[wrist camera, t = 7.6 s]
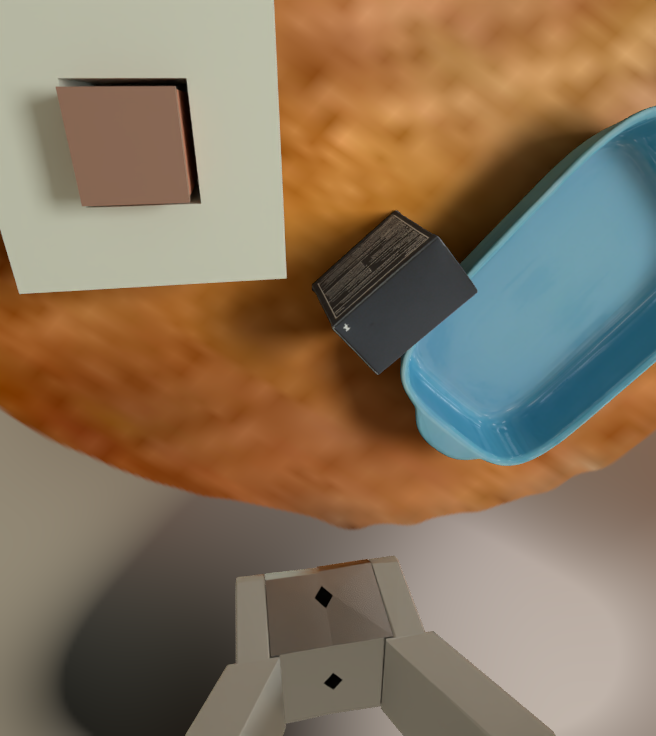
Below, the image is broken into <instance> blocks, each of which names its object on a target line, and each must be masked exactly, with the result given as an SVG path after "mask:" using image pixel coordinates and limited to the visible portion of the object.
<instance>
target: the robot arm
mask: <svg viewBox="0 0 656 736" xmlns="http://www.w3.org/2000/svg"><path fill="white" fill-rule="evenodd" d="M265 586H266V587H265ZM235 597H236V600H235V601H236V664H231V665H227V667H226V668H225V670H224V672H223V673H222V675H221V677H220V678H219V680H218V682H217V683H216V685H215V687H214V688H213V690H212V692H211V693H210V695H209V697H208V699H207V700H206V702H205V704H204V705H203V707H202V708H201V710H200V712H199V714H198V715H197V717H196V718H195V720H194V722H193V724H192V725H191V727H190V728H189V730H188V732H187V734H186V735H185V736H283V733H284V730H285V728H286V726H285V724H286V723H291V722H296V721H300V720H305V719H310V718H314V717H319V716H323V715H328V714H333V713H339V712H346V711H352V710H359V709H365V708H372V707H378V706H381V709H382V710H383V712H384V713H385V714H386V715H387V716H388V717H389V719H390V720H391V721H392V722H393V724H394V725H395V726H396V727H397V728H398V730H399V731H400V732H401V733H402V735H403V736H555V734H554V732H553V731H552V730H551V729H550V728H549V727H547V726H546V725H545V724H544V723H542V722H541V721H540V720H539V719H538V718H537V717H535V716H534V715H533V714H532V713H531V712H529V711H528V710H527V709H526V708H525V707H523V706H522V705H521V704H520V703H519V702H517V701H516V700H515V699H514V698H513V697H511V696H510V695H509V694H508V693H507V692H505V691H504V690H503V689H502V688H501V687H500V686H498V685H497V684H496V683H495V682H494V681H492V680H491V679H490V678H489V677H488V676H486V675H485V674H484V673H483V672H481V671H480V670H479V669H478V668H477V667H476V666H474V665H473V664H472V663H471V662H469V661H468V660H467V659H466V658H465V657H463V656H462V655H461V654H460V653H459V652H458V651H456V650H455V649H454V648H453V647H451V646H450V645H449V644H448V643H447V642H446V641H444V640H443V639H442V638H441V637H440V636H438V635H437V634H436V633H435V632H434V631H431V632H425V630H424V627H423V625H422V622H421V619H420V617H419V614H418V611H417V609H416V606H415V603H414V601H413V598H412V596H411V593H410V590H409V587H408V585H407V582H406V579H405V577H404V574H403V571H402V568H401V566H400V563H399V560H398V559H397V558H396V557H395V556H389V557H382V558H375V559H369V560H367V559H366V560H359V561H352V562H346V563H339V564H334V565H327V566H320V567H317V568H311V569H302V570H294V571H285V572H276V573H268V574H265V577H264V574H262V575H254V576H246V577H237V580H236V585H235Z"/></svg>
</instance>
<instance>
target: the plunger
mask: <svg viewBox="0 0 656 736" xmlns="http://www.w3.org/2000/svg"><path fill="white" fill-rule="evenodd" d="M56 92H57V96H58V101H59V105H60V110H61V114H62V119H63V123H64V128H65V132H66V137H67V141H68V146H69V150H70V155H71V159H72V164H73V168H74V173H75V177H76V182H77V186H78V191H79V195H80V200H81V204H82V206H108V205H136V204H164V203H190V195H191V193H192V191H193V188H194V186H195V184H196V182H197V180H198V172H197V163H196V155H195V146H194V138H193V129H192V121H191V112H190V104H189V95H188V93H187V92H184V91H181V90H177V89H176V86H80V87H56Z"/></svg>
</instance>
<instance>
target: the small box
mask: <svg viewBox="0 0 656 736" xmlns="http://www.w3.org/2000/svg"><path fill="white" fill-rule="evenodd" d="M312 290H313V291H314V292H315V293H316V295H317V297H318V299H319V301H320V304H321V305H322V307H323V309H324V311H325V313H326V315H327V317H328V319H329V321H330V323H331V326H332V329H333V330H334V331H335V332H336V333H337V334H338V335H339V336H340V337H341V338H342V339H343V340H344V341H345V342H346V343H347V344H348V345H349V347H350V348H352V349H353V350H354V351H355V352H356V353H357V355H358V356H359V357H360V358H361V359H362V360H363V361H364V362H365V363H366V364H367V365H368V366H369V367H370V368H371V369H372V370H373V371H374V372H375V373H376V374H378V375H379V374H380V373H381V372H383V371H384V370H385V369H386V368H387V367H389V366H390V365H391V364H392V363H393V362H395V361H396V360H397V359H398V358H399V357H401V356H402V355H403V354H404V353H405V352H406V351H408V350H409V349H410V348H411V347H412V346H414V345H415V344H416V343H417V342H418V341H420V340H421V339H422V338H423V337H424V336H426V335H427V334H428V333H429V332H430V331H432V330H433V329H434V328H435V327H436V326H438V325H439V324H440V323H441V322H443V321H444V320H445V319H446V318H447V317H449V316H450V315H451V314H452V313H453V312H455V311H456V310H457V309H458V308H459V307H461V306H462V305H463V304H464V303H465V302H467V301H468V300H469V299H470V298H472V297H473V296H474V295H475V294H476V293H477V292H478V290H477V288H476V287H475V285H474V284H473V282H472V281H471V279H470V278H469V277H468V275H467V274H466V272H465V271H464V270H463V268H462V267H461V266H460V264H459V263H458V262H457V260H456V259H455V258H454V256H453V255H452V254H451V252H450V251H449V250H448V248H447V247H446V245H445V244H444V243H443V242H442V240H441V239H440V238H439V237H438V236H437V235H435V234H432V233H430V232H428V231H427V230H425V229H423V228H422V227H421V226H419V225H418V224H416V223H414V222H413V221H411V220H410V219H408V218H407V217H405V216H403V215H402V214H401V213H400V212H399V211H396V210H395V211H394V212H393V213H392V214H391V215H390V216H388V217H387V218H386V219H385V220H384V221H383V222H381V223H380V224H379V225H378V226H377V227H376V228H375V229H374V230H373V231H371V232H370V233H369V234H368V235H367V236H366V237H365V238H364V239H362V240H361V241H360V242H359V243H358V244H357V245H356V246H355V247H353V248H352V249H351V250H350V251H349V252H348V253H347V254H346V255H344V256H343V257H342V258H341V259H340V260H339V261H338V262H337V263H336V264H334V265H333V266H332V267H331V268H330V269H329V270H328V271H327V272H326V273H324V274H323V275H322V276H321V277H320V278H319V279H318V280H317V281H316V282H315V283H313V284H312Z"/></svg>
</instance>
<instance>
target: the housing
mask: <svg viewBox="0 0 656 736" xmlns="http://www.w3.org/2000/svg"><path fill="white" fill-rule="evenodd" d="M80 86H176V89H177V90H181V91H184V92H187V93H188V95H189V104H190V112H191V121H192V129H193V138H194V146H195V155H196V163H197V172H198V180H197V182H196V184H195V186H194V188H193V191H192V193H191V195H190V203H164V204H136V205H108V206H82V204H81V200H80V195H79V191H78V186H77V182H76V177H75V173H74V168H73V164H72V159H71V155H70V150H69V146H68V141H67V137H66V132H65V128H64V123H63V119H62V114H61V110H60V105H59V101H58V96H57V92H56V87H80ZM0 231H1V234H2V237H3V241H4V244H5V247H6V251H7V254H8V257H9V261H10V264H11V267H12V271H13V274H14V277H15V281H16V284H17V287H18V291H19V294H26V293H43V292H60V291H77V290H95V289H112V288H129V287H147V286H164V285H181V284H198V283H216V282H233V281H250V280H268V279H285V278H287V273H286V251H285V230H284V208H283V187H282V166H281V144H280V123H279V101H278V80H277V59H276V37H275V16H274V0H0Z"/></svg>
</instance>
